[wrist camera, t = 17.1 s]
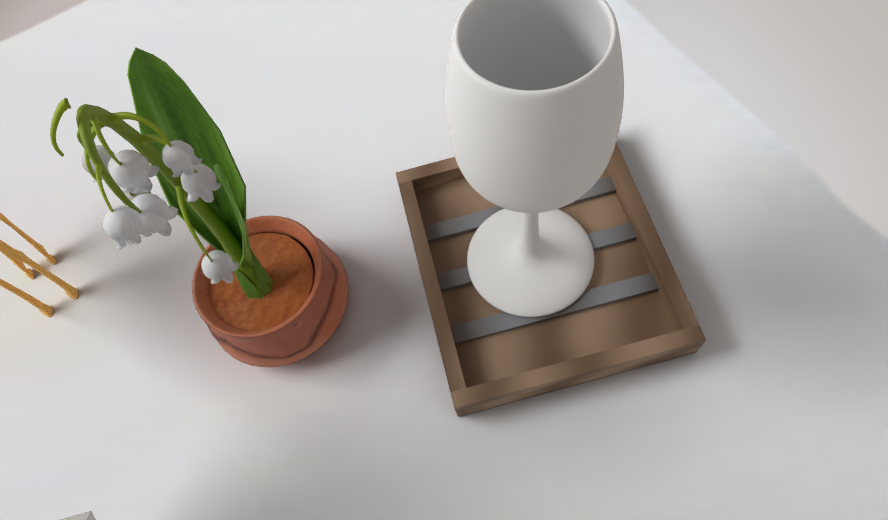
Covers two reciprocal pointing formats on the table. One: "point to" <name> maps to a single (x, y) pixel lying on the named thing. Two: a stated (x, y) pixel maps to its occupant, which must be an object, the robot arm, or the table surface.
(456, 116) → the wineglass
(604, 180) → the wooden tray
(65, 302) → the table surface
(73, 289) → the yellow flower sprig
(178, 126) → the potted flower
